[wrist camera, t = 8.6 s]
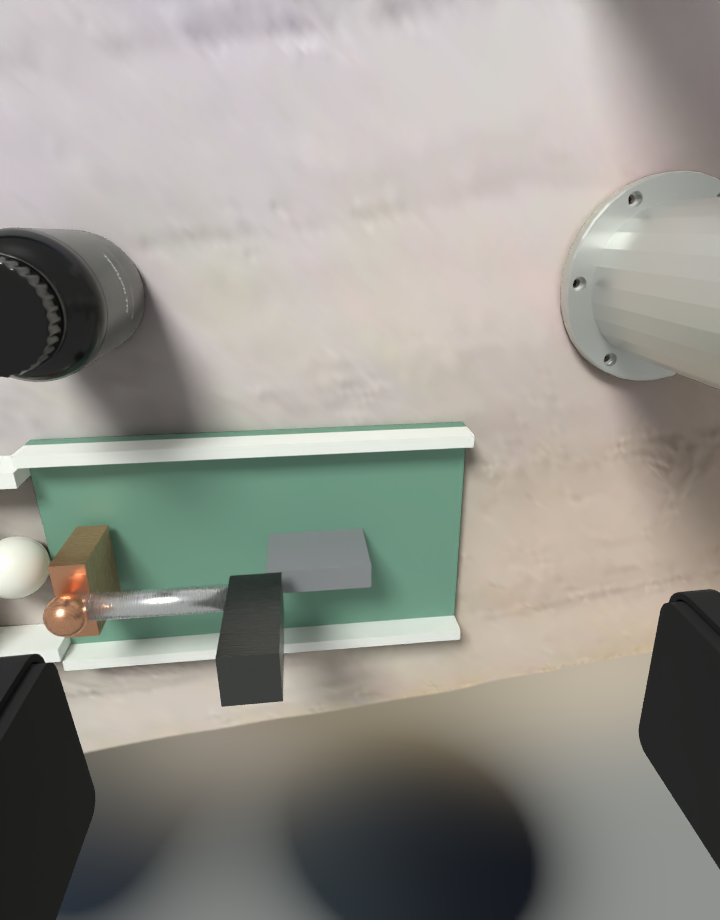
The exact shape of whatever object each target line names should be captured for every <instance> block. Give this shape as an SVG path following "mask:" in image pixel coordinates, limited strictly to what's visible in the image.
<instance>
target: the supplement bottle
mask: <svg viewBox="0 0 720 920" xmlns="http://www.w3.org/2000/svg"><path fill="white" fill-rule="evenodd" d="M144 306H145V294H144V288H143V284H142V280H141V278H140V275H139V273H138V271H137V269H136V267H135V266H134V264H133V262H132V261H131V260H130V259H129V257H128V256H127V255H126V254H125V253H124V252H123V251H122V250H121V249H120V248H119V247H117V246H116V245H115V244H114V243H112V242H110V241H109V240H107V239H105V238H103V237H101V236H99V235H96V234H93V233H90V232H86V231H79V230H66V229H37V228H4V229H0V377H2V376H3V377H7V378H8V377H11V378H15V379H19V380H24V381H32V382H45V381H53V380H58V379H61V378H64V377H67V376H69V375H72V374H74V373H76V372H77V371H79V370H81V369H83V368H84V367H86V366H88V365H89V364H91V363H92V362H94V361H96V360H97V359H99V358H100V357H102V356H104V355H105V354H107V353H109V352H110V351H112V350H113V349H115V348H117V347H118V346H120V345H121V344H122V343H124V342H125V341H126V340H127V339H129V338H130V337H131V335H132V334H133V333H134V332H135V331H136V329H137V327H138V326H139V324H140V322H141V319H142V316H143V312H144Z"/></svg>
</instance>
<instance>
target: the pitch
mask: <svg viewBox="0 0 720 920" xmlns="http://www.w3.org/2000/svg"><path fill="white" fill-rule="evenodd" d="M470 447H474V434H473V433H472V432H471V431H470V430H469V429H468V428H467V426H466V425H465V424H464V423H463V422H447V423H423V424H399V425H375V426H351V427H327V428H303V429H280V430H256V431H232V432H208V433H184V434H160V435H136V436H112V437H88V438H64V439H41V440H30V441H29V442H27V443H26V444H25V445H24V446H22V447H21V448H20V449H19V450H18V451H16V452H15V453H14V454H13V455H11V456H0V489H16V488H18V487H19V486H20V485H21V484H22V483H23V482H24V481H25V480H26V479H27V478H28V477H29V476H31V478H32V482H33V486H34V490H35V494H36V499H37V503H38V507H39V511H40V515H41V519H42V524H43V528H44V532H45V536H46V540H47V544H48V549H49V553H50V557H51V561H52V560H53V559H54V557H55V556H56V555H57V553H58V552H59V550H60V549H61V548H62V546H63V545H64V543H65V542H66V541H67V539H68V538H69V536H70V535H71V534H72V532H73V531H74V529H75V528H76V527H79V526H97V525H109V530H110V535H111V541H112V546H113V551H114V556H115V561H116V567H117V572H118V577H119V582H120V587H121V591H128V590H143V589H158V588H172V587H187V586H202V585H217V584H229V578H230V576H233V575H248V574H263V573H278V572H282V586H283V601H284V653H296V652H309V651H321V650H334V649H346V648H359V647H371V646H384V645H396V644H409V643H421V642H434V641H446V640H459V639H460V628H459V626H458V623H457V621H456V619H455V616H454V610H455V595H456V580H457V564H458V549H459V534H460V519H461V504H462V488H463V473H464V458H465V448H470ZM222 618H223V612H212V613H198V614H185V615H171V616H157V617H143V618H129V619H115V620H106V623H105V625H104V627H103V629H102V631H101V633H100V635H99V636H86V637H72V638H65V637H60V636H56V635H54V634H52V633H50V632H49V631H48V630H47V628H46V627H45V625H44V624H35V625H21V626H7V627H0V657H5V656H16V655H26V654H40V655H41V656H42V657H43V658H44V661H45V663H48V662H61V660H62V658H63V656H64V654H65V652H66V650H67V649H68V647H69V645H70V643H71V646H70V648H69V650H68V652H67V654H66V656H65V658H64V660H63V661H62V663H63V666H64V670H65V671H71V670H84V669H96V668H109V667H121V666H134V665H146V664H159V663H171V662H184V661H196V660H209V659H216V652H217V647H218V641H219V635H220V629H221V624H222Z"/></svg>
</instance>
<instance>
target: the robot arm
mask: <svg viewBox="0 0 720 920" xmlns="http://www.w3.org/2000/svg"><path fill="white" fill-rule="evenodd" d="M629 196H630V197H631V201H630V203H629V202H628V199H629ZM575 279H576V281H577V283H576V285H575V286H574V287H573V283H574V280H575ZM561 311H562V316H563V320H564V325H565V328H566V330H567V332H568V335H569V337H570V339H571V341H572V343H573V344H574V346H575V347H576V348H577V350H578V351H579V353H580V354H581V355H582V356H583V357H584V358H585V359H586V360H588V361H589V362H590V363H591V364H592V365H593V366H595V367H597V368H599V369H601V370H603V371H604V372H606V373H609V374H611V375H614V376H616V377H619V378H622V379H628V380H634V381H650V380H658V379H662V378H666V377H671V376H673V375H676V374H680V375H683V376H685V377H688V378H691V379H693V380H696V381H698V382H701V383H704V384H706V385H709V386H711V387H714V388H717V389H719V390H720V179H718V178H716V177H713V176H710V175H708V174H705V173H702V172H694V171H685V170H681V171H671V172H663V173H659V174H654V175H650V176H646V177H643V178H641V179H639V180H637V181H634V182H632V183H630V184H627V185H626V186H624V187H623V188H621V189H620V190H619V191H617V192H616V193H614V194H613V195H611V196H610V197H609V198H608V199H606V200H605V201H604V202H603V203H602V204H601V205H600V206H599V207H598V208H597V209H596V210H595V211H594V212H593V213H592V215H591V216H590V217H589V219H588V220H587V221H586V223H585V224H584V225H583V227H582V228H581V229H580V231H579V233H578V235H577V237H576V239H575V241H574V243H573V245H572V246H571V248H570V251H569V254H568V257H567V260H566V263H565V266H564V270H563V276H562V282H561ZM606 355H607V357H606V359H605V360H604V358H605V356H606ZM639 738H640V742H641V745H642V748H643V750H644V752H645V754H646V756H647V757H648V759H649V760H650V762H651V763H652V765H653V766H654V768H655V770H656V771H657V773H658V774H659V776H660V777H661V779H662V781H663V782H664V784H665V785H666V787H667V788H668V790H669V791H670V793H671V794H672V796H673V798H674V799H675V801H676V802H677V804H678V805H679V807H680V808H681V810H682V812H683V813H684V814H685V816H686V818H687V819H688V821H689V822H690V824H691V825H692V827H693V829H694V830H695V832H696V833H697V835H698V836H699V838H700V839H701V841H702V842H703V844H704V845H705V847H706V849H707V850H708V852H709V853H710V855H711V857H712V858H713V860H714V861H715V863H716V864H717V866H718V867H719V869H720V593H719V592H718V591H716V590H711V589H708V590H697V591H687V592H678V593H675V594H673V595H672V596H671V598H670V600H669V603H665V604H664V605H663V606H662V608H661V611H660V616H659V621H658V626H657V632H656V637H655V643H654V648H653V653H652V659H651V665H650V670H649V676H648V681H647V686H646V692H645V698H644V702H643V708H642V713H641V719H640V724H639ZM94 806H95V790H94V786H93V783H92V780H91V776H90V773H89V770H88V767H87V763H86V760H85V757H84V754H83V751H82V747H81V744H80V741H79V738H78V735H77V731H76V728H75V725H74V722H73V718H72V715H71V712H70V709H69V706H68V702H67V699H66V696H65V693H64V690H63V686H62V683H61V680H60V677H59V674H58V670H57V668H56V666H55V665H54V664H53V663H50V662H49V663H45V661H44V658H43V657H42V656H41V655H40V654H26V655H16V656H5V657H0V920H56V917H57V915H58V912H59V909H60V906H61V903H62V901H63V898H64V895H65V892H66V889H67V886H68V884H69V881H70V878H71V875H72V873H73V870H74V867H75V864H76V861H77V858H78V856H79V853H80V850H81V847H82V845H83V842H84V839H85V836H86V833H87V830H88V828H89V824H90V822H91V819H92V816H93V813H94Z"/></svg>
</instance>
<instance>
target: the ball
mask: <svg viewBox="0 0 720 920" xmlns="http://www.w3.org/2000/svg"><path fill="white" fill-rule="evenodd" d="M49 564H50V557H49V554H48V552H47V550H46V549H45V548H44V547H43V546H42V545H41V544H40V543H39V542H37V541H35V540H34V539H31V538H28V537H23V536H14V537H8V538H5V539H2V540H0V597H1V598H6V599H17V598H22V597H25V596H28V595H30V594H32V593H34V592H35V591H37V590H38V589H39V588H40V587H41V586H42V585H43V584H44V582H45V581H46V579H47V577H48V575H49V570H48V566H49Z"/></svg>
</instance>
